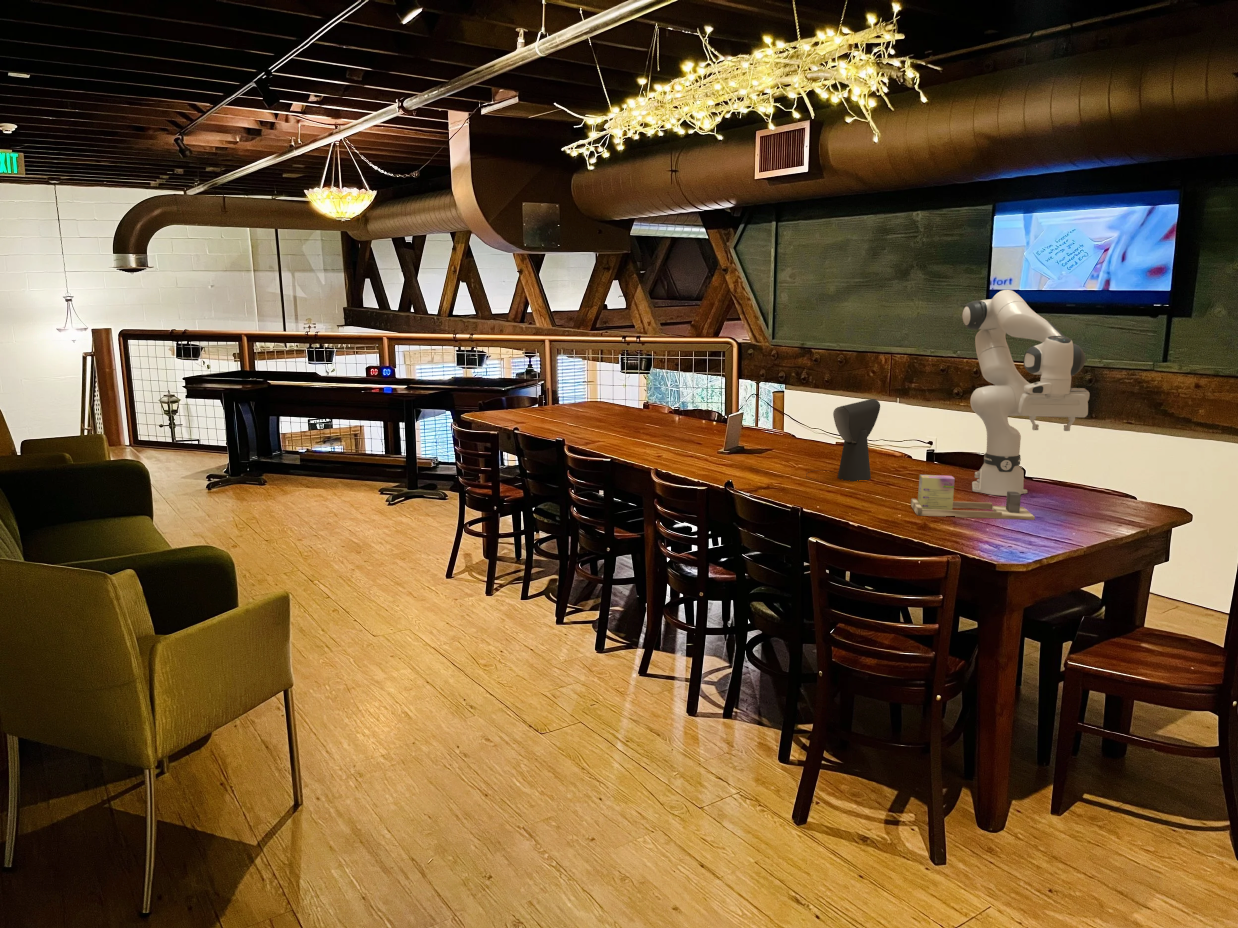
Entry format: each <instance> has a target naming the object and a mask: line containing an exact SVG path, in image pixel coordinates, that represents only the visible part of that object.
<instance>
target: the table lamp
mask: <svg viewBox="0 0 1238 928" xmlns="http://www.w3.org/2000/svg"><path fill="white" fill-rule="evenodd" d="M880 410H881V403H880V402H879V401H878V400H877V399H875V398H869V399H866V400H861V401H858V402H852V403H850V404H845V405H841V406H837V407H835V409H834V410H833V413H832V414H833V415H832V416H833V421H834V424H835V427H836V430H837V433H838V434H839V436H840V437H841V438H842V440H843V446H842V451H841V458H840V462H839V463H840V464H839V468H838V472H836V471H833V470H832V471H831V470H830V472H831V473H837V479H838V478H839V479H838V480H841V479H843V480H842V481H845V480H850V481H849V482H854V481H857V480H858V481H859V480H869V479H871V480H872V476H871V475H872V474H871V467H870V466H871V465H870V457H869V456H870V453H869V443H868V438H869V436H870V434H871V433H872V432H873V431H872V430H874V429H873V428H874V427H875V425H876V422H877V420H878V418H879V417H878V416H879V414H880ZM817 471H818V472H819V471H825V472H828V470H827V469H826V470H824V469H816V470H814V472H817ZM812 472H813V470H811V471H808V472H807V473H806V476H805V477H807V478H808V479H811V480H815V481H817V479H814V478H810V477H809V476H807V475H808V474H809V473H812ZM869 481H870V480H869Z"/></svg>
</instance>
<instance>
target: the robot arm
mask: <svg viewBox="0 0 1238 928" xmlns="http://www.w3.org/2000/svg"><path fill="white" fill-rule="evenodd" d="M961 318H962V322H963V326H965V328H966V329H969V330H974V331H977V330H978V332H977V333H976V335H975V338H974V339H975V341H974V342H975V343H974V344H975V350H976V356H977V361H978V364H979V368H980V372H981V375H982V377H983V379H985V380H986V381H987V382H989V383H991V384H993V385H985V386H982V387H978V388H975V390H973V392H972V393H971V396H970V400H969V402H970V408H971V410H972V411H973V412H974V413H975V414H976V415H977V416H978V417H979V418H980V419H981V421H982V422H983V424H984V427H985V429H986V430H985V431H986V452H984V456H983V464H982V466H981V467H980V469H979V470H978V471H975V472H974V478H975V479H976V480H974V481H972V482H971V491H972V492H975V493H982V494H985V495H986V494H987V495H991V496H1005V497H1007V491H1011V492H1018V493H1019V494H1020V495H1022V494H1024V495H1025V494H1028V489H1025V488H1024V480H1025V479H1024V476H1025V475H1024V472H1025V471H1024V470H1023V468H1021V466H1020V465H1021V460H1022V459H1021V454H1020V452H1021V451H1020V450H1021V439H1022V436H1021V433H1020V432H1019V430H1018V429H1016V428H1015V427H1014V426H1012V425H1010V423H1009V419H1008V417H1018V416H1019V417H1020V416H1021V417H1029V422H1030V423H1031V424H1032V431H1039V426H1040V425H1039V424H1038V423H1036V422H1035V420H1037V417H1046V418H1047V417H1049V418H1051V417H1052V418H1068V419H1067V420H1068V422H1067V424H1063V431H1064V432H1070V431H1071V426H1072V425H1073V424H1074V423H1075V421H1076V418H1086V417H1087V416H1088V415H1089V403H1088V402H1089V400H1090V395H1091V394H1090V392H1089V390H1087V389H1086V388H1084V387H1082V388H1080V387H1078V388H1077V387H1071V386H1072V377H1073V376H1075V375H1076V374H1078V373H1079V372H1080V371H1081V370H1082V369H1083V367H1084V366H1085V364H1086V354H1085V352H1084V351H1083V349H1082V348H1081V347H1080V346H1079V345H1078V344H1076V343H1073V340H1072V339H1071V338H1070V337H1067V336H1066V335H1065V334H1063V332H1062V331H1060V330H1059V329H1058V328H1057V327H1056V325H1054V324H1053V323H1052V322H1051V321H1049V320H1047V319H1046V318H1044V317H1042V316H1041V315H1039V314H1038V313H1036V312H1035V310H1033V309H1032V308H1031V307H1030V306H1029V305H1028V304H1027V302H1026V301H1025V300H1024V299H1023V298H1022V297H1021V296H1020V294H1018V292H1017V293H1016V292H1015V291H1014V290H1012V289H1003V290H1000V291H999V292H997V293H996V294H995V295H994V296H993V297H992V298H991V299H982V300H973V301H969V302H967V303H966V304H965V305H964V307H963V309H962V313H961ZM1006 335H1008V336H1010V337H1012V338H1019V339H1027V340H1033V341H1038V342H1040V343H1038V344H1036V345H1032V346H1030V347H1029V348H1028V349H1026V351H1025V353H1024V355H1023V367H1024V368H1025V370H1026V371H1027V372H1028V373H1029V374H1032V375H1036V376H1037V375H1041V376H1040V379H1039V380H1040V381H1039V380H1038V381H1036V382H1033V383H1031V382H1029V381H1027V380H1026V379H1025V378H1024V377H1023V376H1022V375H1021V373H1020V372H1019V370H1017V368H1016V365H1015V363H1014V360H1013V358H1012V354H1011V351H1010V347H1009V345H1008V343H1007V340H1006Z"/></svg>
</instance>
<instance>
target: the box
mask: <svg viewBox="0 0 1238 928" xmlns="http://www.w3.org/2000/svg"><path fill="white" fill-rule="evenodd" d="M918 479H919V480H918V493H917V500H918V502H919V504H920V505H921V507H922V509H938V510H954V508H953V501H954V496H955V495H954V492H955V479H956V478H955V477H954V476H952V475H943V474H941V475H940V474H936V475H935V474H919V477H918Z"/></svg>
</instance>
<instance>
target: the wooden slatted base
mask: <svg viewBox="0 0 1238 928" xmlns="http://www.w3.org/2000/svg"><path fill="white" fill-rule="evenodd" d="M1021 495H1022V494H1019V493H1018V492H1011V491H1007V496H1006V501H1005V502H1006V503H1005V505H993V502H985V501H984V502H981V501H980V502H979V501H976V502H975V501H954V500H953V510H938V509H922V507H921V505H920V504H919V502H918V499H917V498H911V499H910V506H911V508H912V510H913V511H914V513H915V514H916V516H922V517H923V516H925V517H926V516H928V517H946V516H955V517H954V518H972V519H973V518H975V519H976V518H978V519H1000V520H1001V519H1003V520H1005V519H1006V520H1008V519H1009V520H1026V521H1027V520H1028V521H1029V520H1033V521H1035V519H1036V518H1035V515H1033V513H1031V512H1030V511H1029V510H1028V509H1026V508H1025V507H1024V506H1021V498H1022V496H1021ZM959 509H961V510H959ZM962 509H971V510H962ZM972 509H976V510H972ZM986 510H987V511H986ZM989 510H990V511H989ZM991 510H992V511H991Z"/></svg>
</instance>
